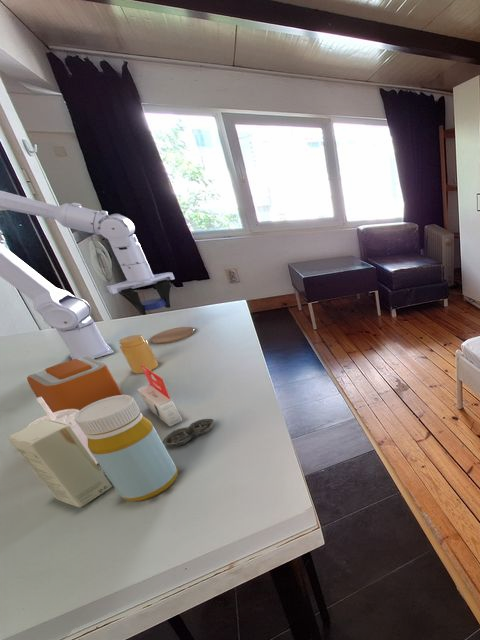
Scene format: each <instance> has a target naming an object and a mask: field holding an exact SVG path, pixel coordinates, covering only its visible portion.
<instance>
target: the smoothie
mask: <svg viewBox="0 0 480 640" xmlns="http://www.w3.org/2000/svg"><path fill="white" fill-rule="evenodd" d="M36 400H37V402H38V403H39V405H40V406H41V407H42V409H43V410H44V412H45V413H46V415H45V414H44V415H43V416H41V417H39V418H37V419H35V420H33V421H31V422H30V423H29V424H27V425H26V426H25V428H28V427H30V426H32V425H34V424H36V423H38V422H41V421H43V420H45V419H46V420H51V421H56V422H60V423H64V424H67V425H69V426H70V428H71V429H72V431H73V432H74V433H75V435H76V436H77V438H78V439H79V441H80V442H81V443H82V445H83V446H84V448H85V449H86V450H87V452H88V453H89V455H90V456H91V457H92V459H93V460H94V462H95V463H96V464H97V465H99V463H98V462H97V460H96V459H95V457H94V456H93V454H92V453H91V451H90V449H89V448H88V439H87V437H86V436H85V434H84V432H83V431H82V430H81V429H80V427H79V426H78V424H77V423H76V421H75V415H76V413H77V412H79V410H78V409H66V410H61V411H57V412H54V413H52V411H51V410H50V408H49V407H48V405H47V404H46V403H45V401H44V400H43V398H42V397H38V398H37V397H36Z"/></svg>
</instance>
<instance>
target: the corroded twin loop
mask: <svg viewBox="0 0 480 640" xmlns="http://www.w3.org/2000/svg"><path fill="white" fill-rule="evenodd" d="M213 423H214V419H213V418H203V419H198V420H196V421H194V422H192V423H191V424H189V426H187V427H181V428H177V429H174V430H173V431H171V432H170V433H169V434H167V435H166V437H164V438H163V440H162V443H163V445H167V446H168V447H175V446H183V445H185V444H186V443H188V442H190V440H192V438H193V437H196V436H202V435H205V434H207V432H209V431H210V430H211V429H212V427H213V425H214V424H213ZM183 434H184V435H185V436H183ZM181 436H183V437H181Z"/></svg>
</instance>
